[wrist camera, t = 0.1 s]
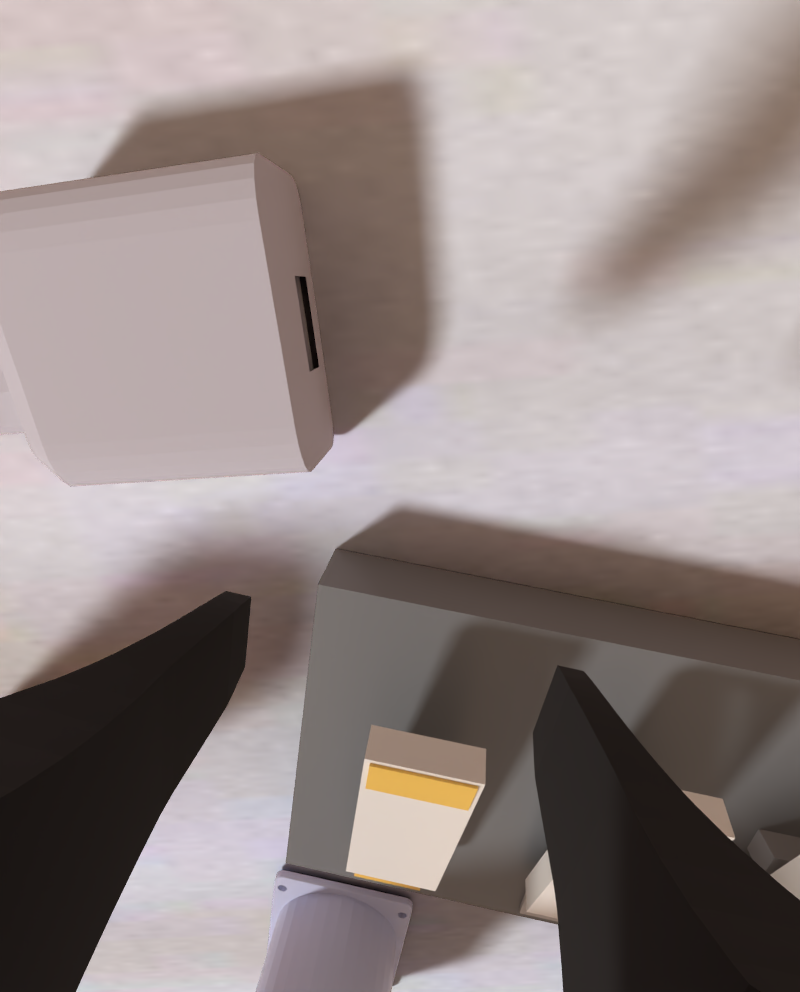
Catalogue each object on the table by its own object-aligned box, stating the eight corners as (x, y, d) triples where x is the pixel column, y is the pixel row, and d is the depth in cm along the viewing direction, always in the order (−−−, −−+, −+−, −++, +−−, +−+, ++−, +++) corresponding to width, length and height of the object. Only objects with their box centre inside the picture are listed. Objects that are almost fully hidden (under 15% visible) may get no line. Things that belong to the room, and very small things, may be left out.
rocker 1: (438, 860, 24) (434, 894, 23) (351, 841, 24) (345, 873, 23) (486, 749, 18) (485, 787, 17) (371, 724, 18) (363, 761, 17)
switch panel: (790, 914, 28) (843, 1017, 24) (302, 807, 29) (277, 888, 25) (959, 670, 22) (1067, 753, 18) (335, 548, 23) (309, 601, 19)
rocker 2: (614, 899, 24) (619, 935, 23) (525, 879, 24) (526, 914, 23) (722, 798, 18) (736, 841, 17) (603, 773, 18) (609, 814, 17)
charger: (-78, 233, 20) (300, 179, 18) (8, 463, 23) (338, 441, 21) (-229, 217, 16) (248, 144, 14) (-97, 503, 19) (305, 480, 17)
